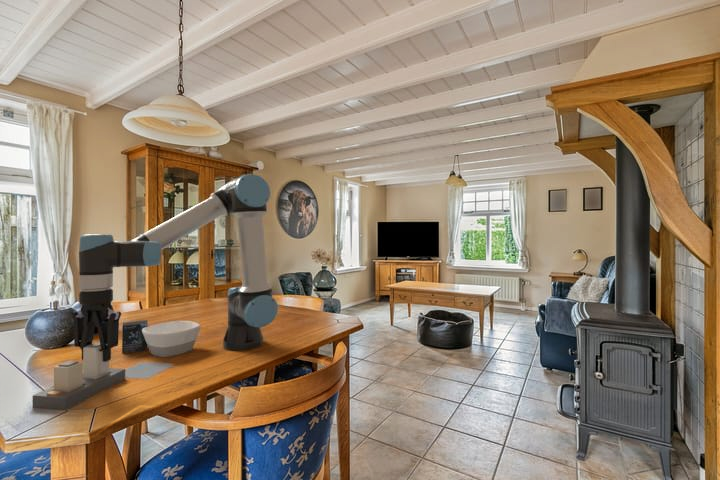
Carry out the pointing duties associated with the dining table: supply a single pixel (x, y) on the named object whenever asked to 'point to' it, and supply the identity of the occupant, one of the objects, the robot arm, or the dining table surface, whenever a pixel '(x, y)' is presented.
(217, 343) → the dining table surface
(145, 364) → the tray
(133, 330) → the box
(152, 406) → the dining table surface
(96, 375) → the plug
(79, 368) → the twin plug
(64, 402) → the grey socket block
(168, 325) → the bowl
